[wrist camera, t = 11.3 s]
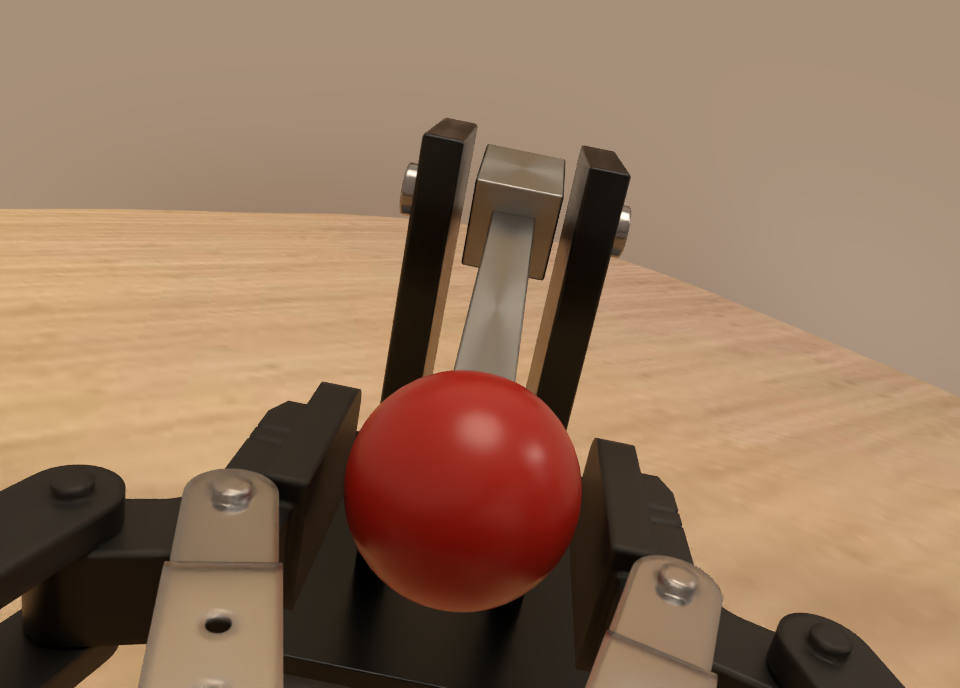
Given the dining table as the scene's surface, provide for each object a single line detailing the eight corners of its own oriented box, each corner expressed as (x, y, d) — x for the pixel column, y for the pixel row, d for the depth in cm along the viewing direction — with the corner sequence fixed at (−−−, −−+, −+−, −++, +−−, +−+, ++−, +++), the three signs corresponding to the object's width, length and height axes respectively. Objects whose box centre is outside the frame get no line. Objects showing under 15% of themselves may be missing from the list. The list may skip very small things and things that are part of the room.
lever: (549, 687, 12) (612, 509, 10) (306, 637, 12) (322, 450, 10) (566, 260, 24) (596, 143, 22) (446, 236, 24) (465, 116, 22)
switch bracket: (606, 762, 20) (781, 230, 15) (216, 683, 20) (266, 127, 15) (583, 506, 31) (680, 152, 27) (332, 455, 31) (382, 92, 27)
